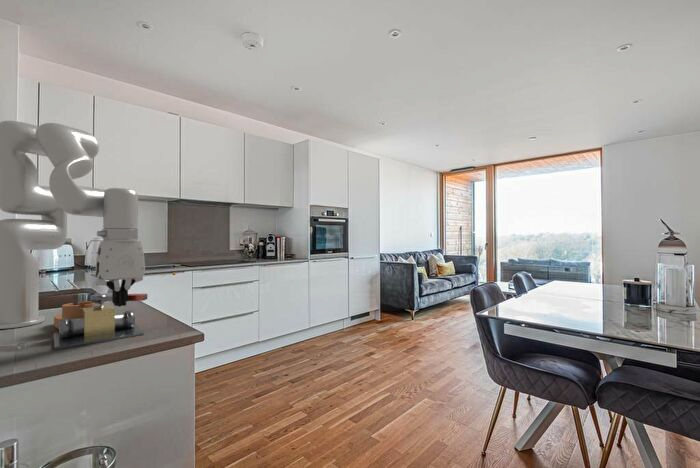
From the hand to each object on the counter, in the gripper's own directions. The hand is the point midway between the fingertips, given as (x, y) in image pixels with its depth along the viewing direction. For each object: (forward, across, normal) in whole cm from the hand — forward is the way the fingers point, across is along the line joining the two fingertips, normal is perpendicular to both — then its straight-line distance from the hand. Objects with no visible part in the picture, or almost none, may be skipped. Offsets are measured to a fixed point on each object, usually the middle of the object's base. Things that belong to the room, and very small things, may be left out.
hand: (120, 305), depth 87 cm
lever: (-1, +1, +4) cm, 4 cm away
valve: (+8, -2, +8) cm, 12 cm away
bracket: (+8, -2, +22) cm, 23 cm away
